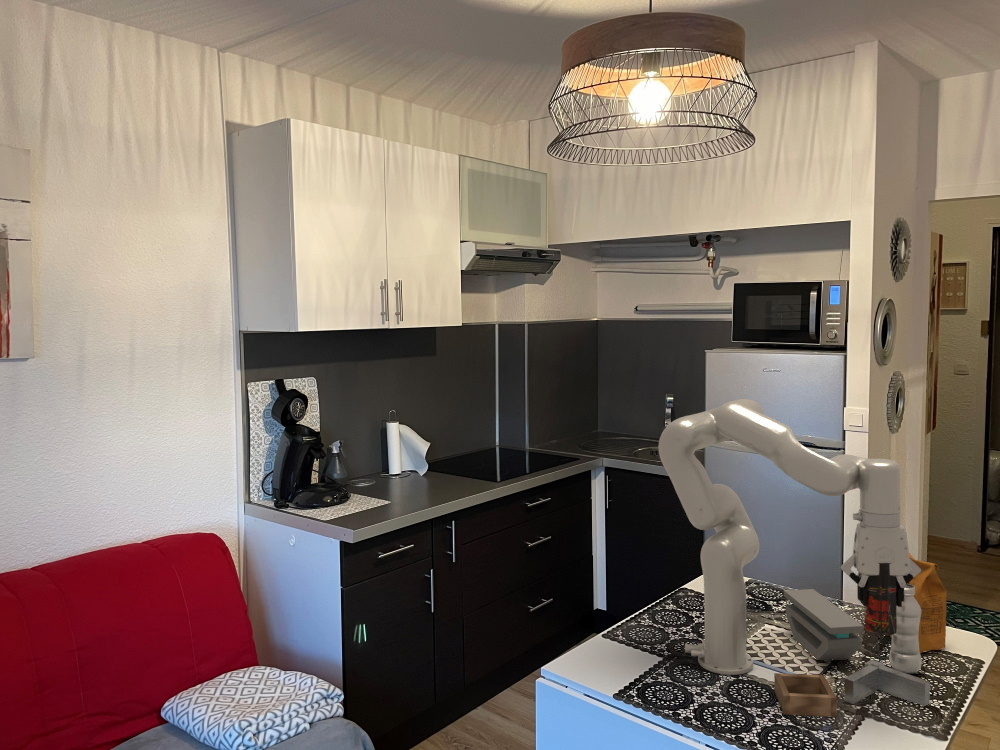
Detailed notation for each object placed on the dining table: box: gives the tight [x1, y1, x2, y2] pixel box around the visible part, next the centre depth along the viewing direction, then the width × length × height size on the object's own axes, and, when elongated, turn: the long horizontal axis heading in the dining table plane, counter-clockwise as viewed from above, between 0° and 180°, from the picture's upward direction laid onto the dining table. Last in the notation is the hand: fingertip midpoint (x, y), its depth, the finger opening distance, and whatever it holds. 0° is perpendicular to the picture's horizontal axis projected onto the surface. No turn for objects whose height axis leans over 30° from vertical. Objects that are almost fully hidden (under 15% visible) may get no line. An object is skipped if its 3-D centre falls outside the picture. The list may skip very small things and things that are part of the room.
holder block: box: [773, 672, 838, 718], centre depth 168 cm, size 10×10×4 cm
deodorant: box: [864, 563, 897, 636], centre depth 165 cm, size 6×6×15 cm
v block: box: [843, 659, 931, 706], centre depth 172 cm, size 17×11×5 cm
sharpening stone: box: [783, 588, 865, 661], centre depth 194 cm, size 25×8×11 cm, turn 4°
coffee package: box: [889, 552, 948, 654], centre depth 196 cm, size 10×12×22 cm
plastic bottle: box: [888, 584, 923, 675], centre depth 181 cm, size 6×7×20 cm
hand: (880, 603), depth 165 cm, fingers closed on deodorant, 5 cm apart
